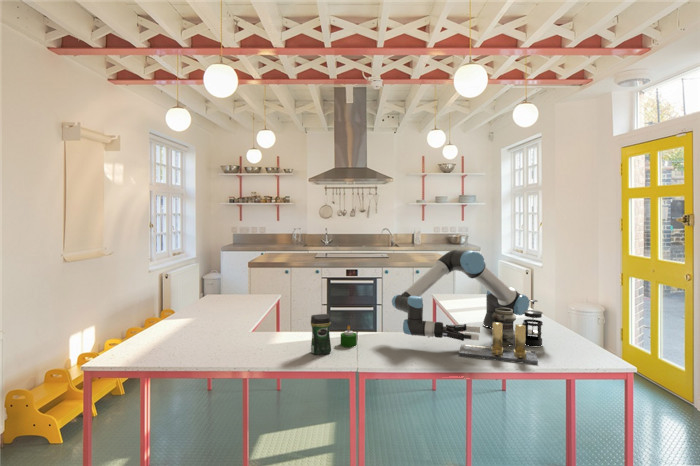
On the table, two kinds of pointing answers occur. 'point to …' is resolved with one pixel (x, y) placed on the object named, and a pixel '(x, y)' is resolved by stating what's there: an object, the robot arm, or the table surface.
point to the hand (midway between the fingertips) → (479, 333)
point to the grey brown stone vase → (505, 324)
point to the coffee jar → (320, 334)
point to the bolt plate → (508, 354)
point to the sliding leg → (497, 338)
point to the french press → (532, 339)
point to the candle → (348, 338)
